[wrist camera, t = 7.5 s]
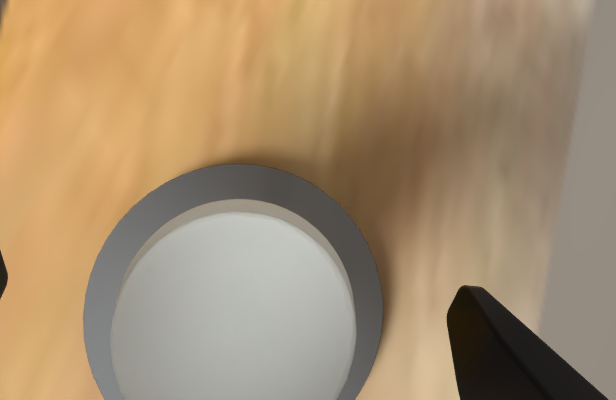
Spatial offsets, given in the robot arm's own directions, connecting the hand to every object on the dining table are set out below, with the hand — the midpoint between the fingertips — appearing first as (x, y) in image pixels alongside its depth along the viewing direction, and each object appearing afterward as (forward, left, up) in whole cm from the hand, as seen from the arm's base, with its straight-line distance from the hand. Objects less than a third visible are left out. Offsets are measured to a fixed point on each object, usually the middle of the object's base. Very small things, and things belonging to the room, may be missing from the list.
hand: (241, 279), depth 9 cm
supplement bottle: (-1, 0, -8) cm, 8 cm away
